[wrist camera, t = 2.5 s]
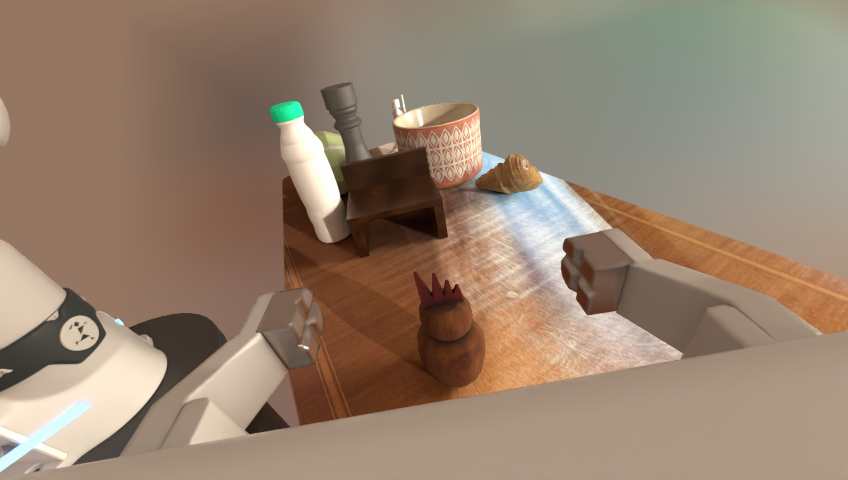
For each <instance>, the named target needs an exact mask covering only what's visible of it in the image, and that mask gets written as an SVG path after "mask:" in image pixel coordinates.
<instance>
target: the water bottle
mask: <svg viewBox="0 0 848 480" xmlns="http://www.w3.org/2000/svg"><path fill="white" fill-rule="evenodd" d="M270 114H271V117H272V119H273V121H274V122H275V123H276V125H278V126H279V127H280V130H281V135H280V142H281V145H280V154H281V157H282V159H283V161H284V162H285V163H286V165H287V168H288V171H289V174H290V176H291V179H292V181H293V183H294V186H295V188H296V190H297V192H298V194H299V196H300V198H301V200H302V202H303V204H304V206H305V207H306V210H307V214H308V217H309V219H310V221H311V222H312V224H313V226H314V229H315V232H316V235H317V237H318V239H319V240H320V241H322V242H325V243H334V242H338V241H341V240H343V239H344V238H346V237H347V236H348V235H349V234H350V233H351V231H350V229H349V226H348V223H347V221H346V218H347V213H346V208H345V205H344V203H343V200H342V199H341V197H340V193H339V190H338V186H337V183H336V180H335V178H334V175H333V172H332V169H331V167H330V164H329V162H328V160H327V157H326V155H325V153H324V147H323V144H322V142H321V141H320V140H319V139H318V137H317V136H316V135H314V134H313V132H312V131H311V130H310V129H309V128H308V127H307V126H306V125H305V124H304V122H303V118H304V116H303V110H302V108H301V105H300V104H299V103H298V102H296V101H290V102H285V103H281V104H277V105H275V106H272V107H271V108H270Z"/></svg>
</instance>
